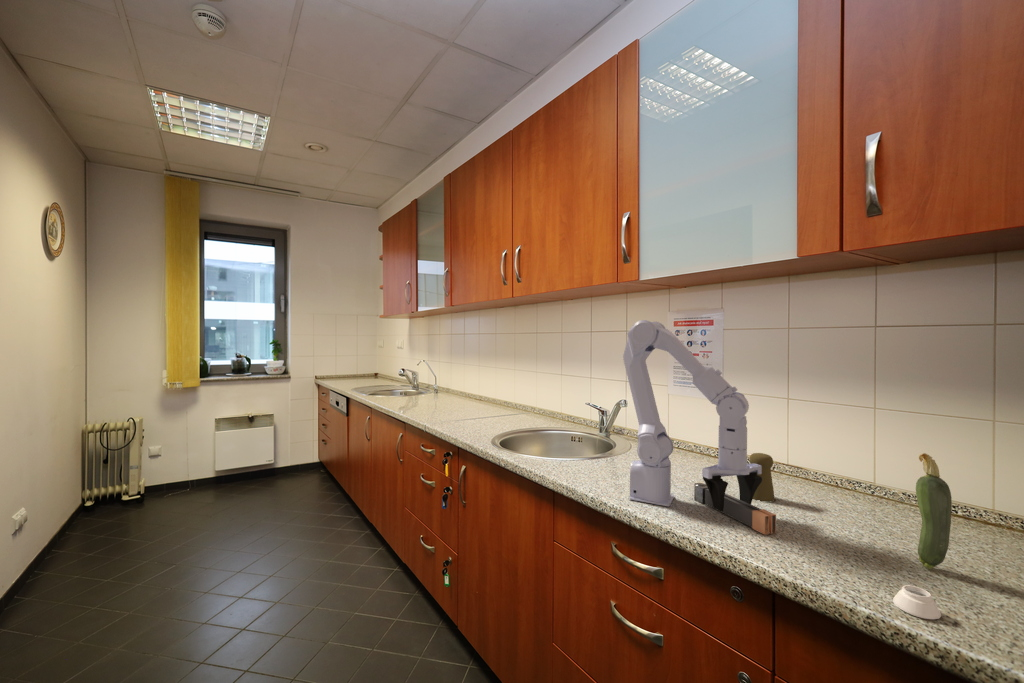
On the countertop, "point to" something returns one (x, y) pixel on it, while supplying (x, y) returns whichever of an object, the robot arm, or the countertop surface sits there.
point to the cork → (763, 477)
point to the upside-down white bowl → (917, 602)
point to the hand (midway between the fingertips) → (731, 507)
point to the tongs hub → (700, 492)
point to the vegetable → (933, 514)
